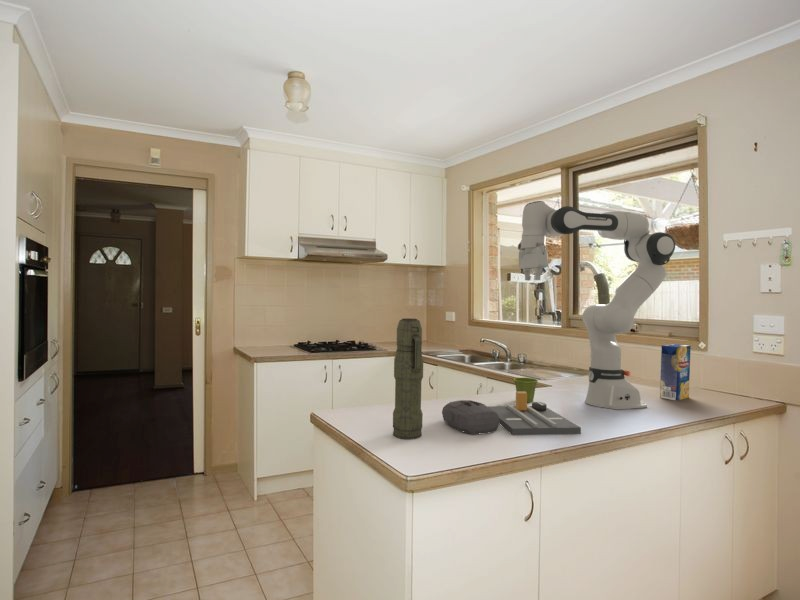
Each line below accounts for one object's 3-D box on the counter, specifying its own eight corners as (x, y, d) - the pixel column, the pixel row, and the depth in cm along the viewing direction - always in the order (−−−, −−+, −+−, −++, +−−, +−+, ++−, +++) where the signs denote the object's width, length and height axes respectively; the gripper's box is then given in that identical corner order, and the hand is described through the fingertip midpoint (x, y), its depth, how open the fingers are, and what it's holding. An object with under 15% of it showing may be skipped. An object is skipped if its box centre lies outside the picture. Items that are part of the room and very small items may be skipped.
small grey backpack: (505, 432, 157) (470, 416, 175) (506, 405, 156) (471, 392, 174) (464, 437, 150) (432, 420, 168) (465, 409, 150) (433, 396, 168)
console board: (543, 411, 183) (544, 399, 183) (580, 433, 156) (581, 420, 155) (485, 411, 181) (485, 400, 180) (512, 435, 153) (512, 421, 153)
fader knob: (523, 408, 178) (524, 390, 177) (527, 410, 175) (527, 392, 174) (515, 408, 177) (515, 390, 177) (518, 410, 174) (518, 392, 174)
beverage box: (688, 397, 212) (690, 345, 211) (676, 400, 205) (678, 347, 205) (672, 394, 217) (673, 344, 217) (659, 397, 211) (661, 345, 210)
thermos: (407, 442, 143) (409, 320, 142) (384, 432, 153) (386, 318, 152) (431, 437, 149) (433, 319, 148) (407, 428, 158) (409, 317, 157)
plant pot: (528, 405, 192) (528, 382, 192) (508, 400, 200) (508, 379, 199) (542, 401, 199) (542, 380, 198) (522, 397, 206) (522, 376, 205)
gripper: (552, 242, 181) (551, 280, 182) (531, 246, 202) (530, 280, 202) (536, 241, 181) (535, 280, 181) (516, 245, 201) (515, 280, 201)
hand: (532, 280), depth 192 cm, fingers open, 8 cm apart
